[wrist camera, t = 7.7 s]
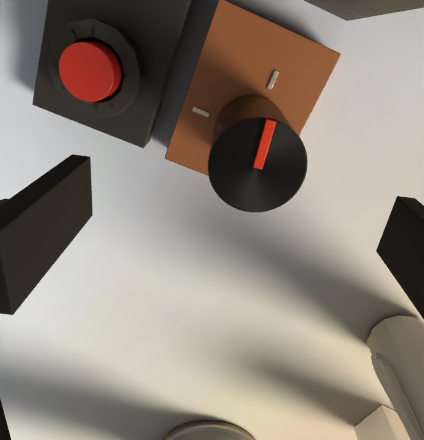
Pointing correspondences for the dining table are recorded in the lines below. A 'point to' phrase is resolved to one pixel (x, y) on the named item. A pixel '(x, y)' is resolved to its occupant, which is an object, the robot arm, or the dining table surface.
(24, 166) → the dining table surface
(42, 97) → the button base
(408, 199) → the robot arm
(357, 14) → the coffee maker
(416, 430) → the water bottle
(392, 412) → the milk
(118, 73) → the power button
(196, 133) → the control panel
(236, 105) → the knob
